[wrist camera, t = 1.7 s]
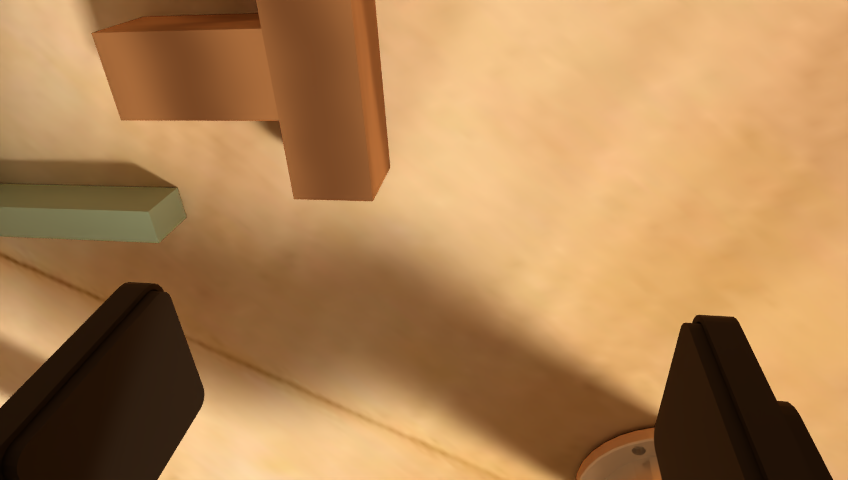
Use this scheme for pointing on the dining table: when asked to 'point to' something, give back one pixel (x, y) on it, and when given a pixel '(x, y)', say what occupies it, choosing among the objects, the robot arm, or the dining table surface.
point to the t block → (266, 83)
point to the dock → (89, 212)
